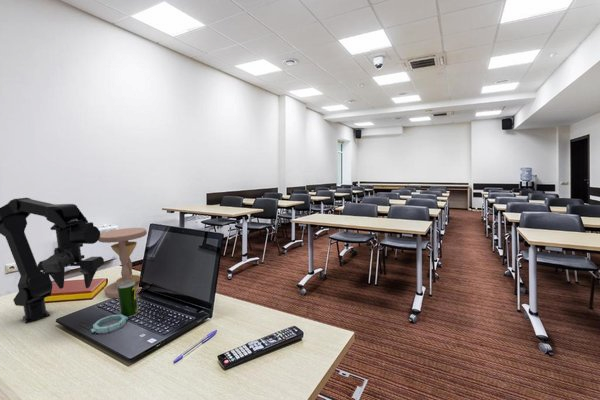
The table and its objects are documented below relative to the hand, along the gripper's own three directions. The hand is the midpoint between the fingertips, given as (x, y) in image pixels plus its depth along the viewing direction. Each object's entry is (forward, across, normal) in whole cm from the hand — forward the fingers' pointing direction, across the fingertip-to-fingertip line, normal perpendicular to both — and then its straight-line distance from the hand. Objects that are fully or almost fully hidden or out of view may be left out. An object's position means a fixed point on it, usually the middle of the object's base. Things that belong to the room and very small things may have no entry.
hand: (74, 288), depth 100 cm
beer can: (+12, +15, +4) cm, 20 cm away
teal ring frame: (+12, +14, -4) cm, 18 cm away
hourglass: (+12, +1, +26) cm, 29 cm away
